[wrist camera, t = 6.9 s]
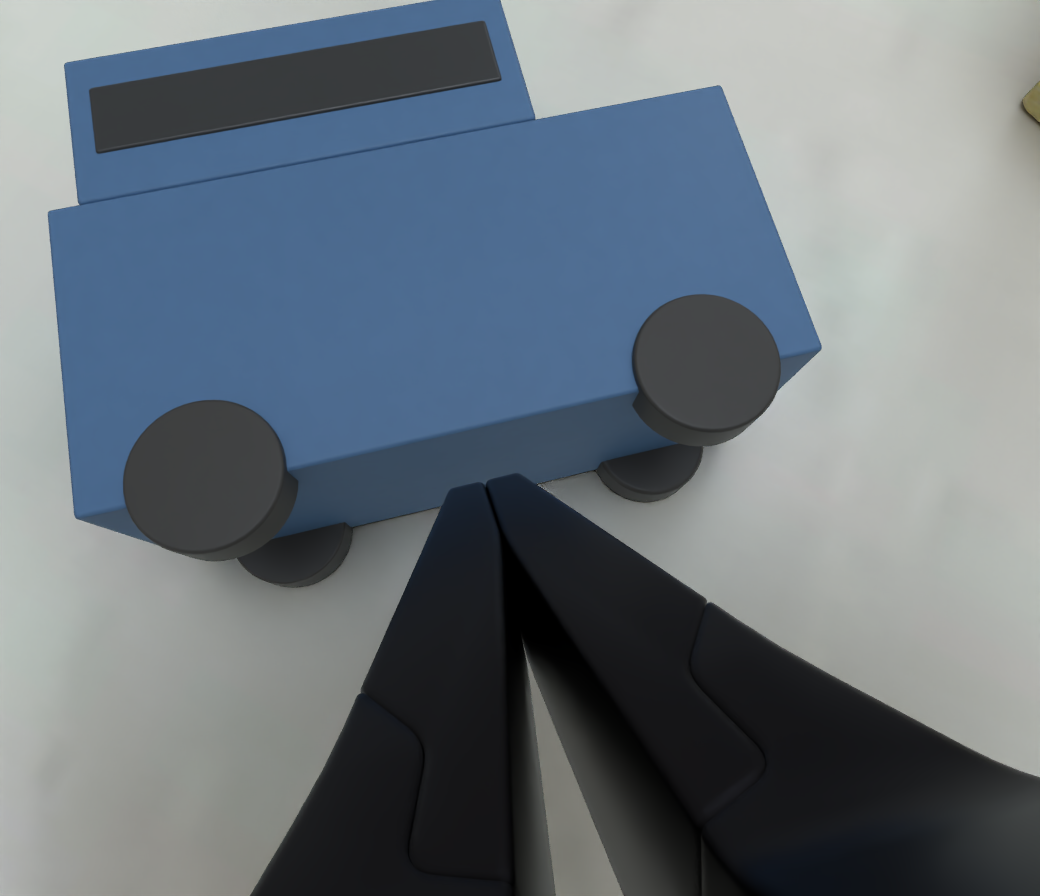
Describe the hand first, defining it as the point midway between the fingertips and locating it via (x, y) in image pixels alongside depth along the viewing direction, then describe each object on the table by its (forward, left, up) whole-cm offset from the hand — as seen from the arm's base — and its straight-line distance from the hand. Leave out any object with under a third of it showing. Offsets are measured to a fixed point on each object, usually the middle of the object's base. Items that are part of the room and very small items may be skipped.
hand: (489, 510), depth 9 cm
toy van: (+1, 0, -5) cm, 5 cm away
